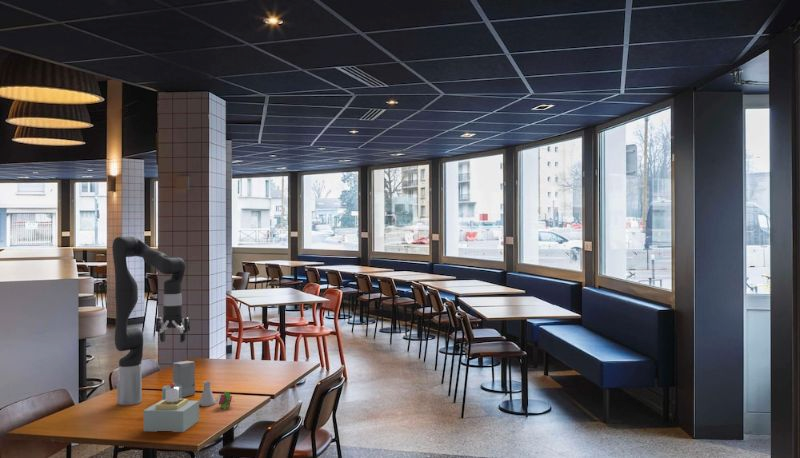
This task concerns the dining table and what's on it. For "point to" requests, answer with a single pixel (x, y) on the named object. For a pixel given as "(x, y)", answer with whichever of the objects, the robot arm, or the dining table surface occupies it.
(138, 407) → the dining table surface
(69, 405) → the dining table surface
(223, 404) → the geometric puzzle
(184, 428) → the box with square opening
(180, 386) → the cup
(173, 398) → the spout can
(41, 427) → the dining table surface
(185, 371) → the skincare box
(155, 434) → the dining table surface
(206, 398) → the flask
